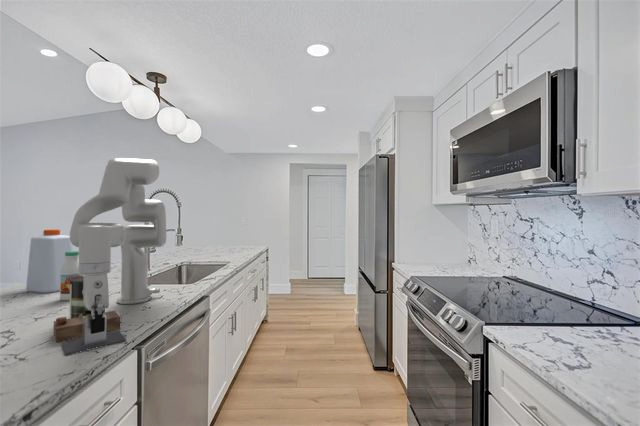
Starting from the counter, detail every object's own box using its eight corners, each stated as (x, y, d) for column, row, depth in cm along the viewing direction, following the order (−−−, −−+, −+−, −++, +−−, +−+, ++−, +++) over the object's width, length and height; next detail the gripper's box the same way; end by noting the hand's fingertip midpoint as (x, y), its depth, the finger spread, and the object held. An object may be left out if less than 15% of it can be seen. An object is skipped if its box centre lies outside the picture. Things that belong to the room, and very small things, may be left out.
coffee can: (110, 317, 115) (111, 277, 115) (77, 325, 106) (77, 282, 106) (96, 311, 120) (97, 274, 120) (63, 319, 112) (63, 278, 112)
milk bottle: (55, 299, 135) (56, 251, 135) (75, 295, 142) (75, 249, 142) (67, 301, 132) (67, 253, 132) (87, 297, 139) (87, 250, 139)
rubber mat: (118, 332, 101) (118, 330, 101) (126, 341, 94) (126, 339, 94) (61, 344, 91) (61, 342, 91) (65, 355, 85) (65, 353, 85)
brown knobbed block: (114, 322, 109) (114, 305, 109) (120, 329, 104) (120, 311, 104) (53, 334, 98) (53, 316, 98) (55, 342, 93) (56, 323, 93)
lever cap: (103, 336, 96) (103, 310, 96) (106, 341, 93) (106, 314, 93) (82, 340, 93) (82, 313, 93) (84, 346, 89) (85, 317, 89)
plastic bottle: (47, 294, 143) (47, 231, 143) (21, 291, 146) (21, 230, 146) (79, 286, 158) (80, 229, 157) (55, 284, 161) (55, 228, 161)
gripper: (117, 270, 89) (116, 333, 89) (104, 262, 101) (103, 317, 102) (83, 274, 84) (83, 340, 84) (74, 265, 96) (74, 322, 96)
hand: (94, 327), depth 93 cm, fingers open, 9 cm apart
